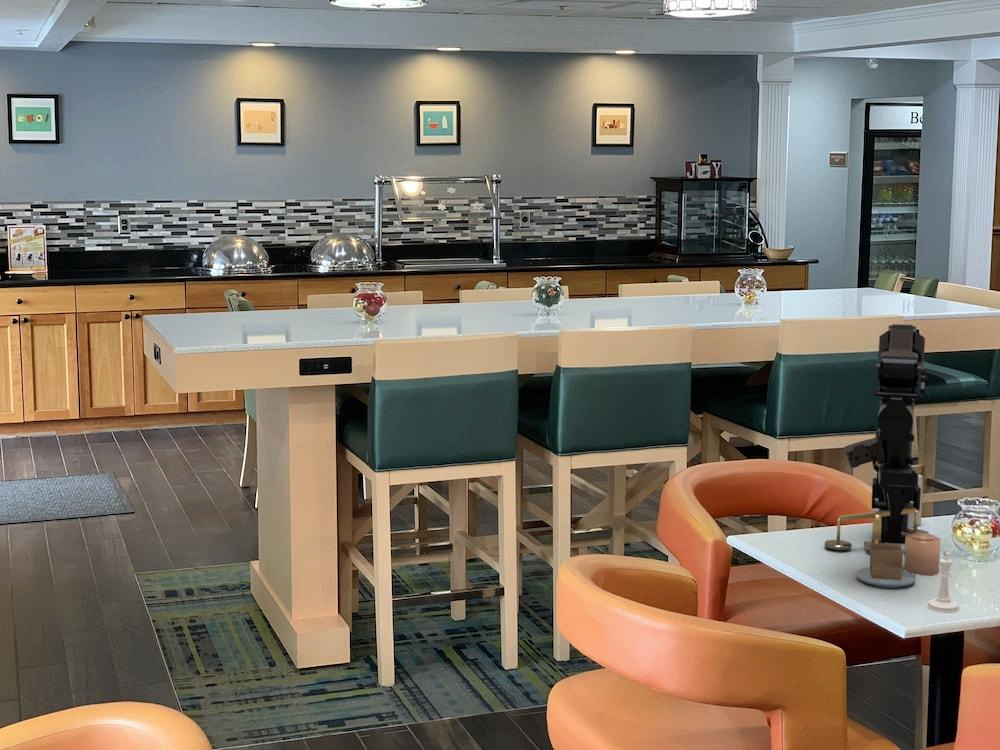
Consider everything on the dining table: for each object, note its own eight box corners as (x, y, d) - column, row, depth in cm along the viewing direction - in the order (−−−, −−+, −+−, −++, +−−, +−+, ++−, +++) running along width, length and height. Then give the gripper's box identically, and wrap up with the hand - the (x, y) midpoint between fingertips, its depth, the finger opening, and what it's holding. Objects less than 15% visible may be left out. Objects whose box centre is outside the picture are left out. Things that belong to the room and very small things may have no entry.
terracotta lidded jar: (902, 564, 238) (903, 530, 237) (936, 566, 237) (938, 532, 236) (905, 574, 232) (907, 539, 231) (940, 576, 231) (942, 541, 230)
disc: (853, 570, 234) (854, 565, 234) (911, 574, 232) (911, 568, 232) (858, 587, 224) (858, 581, 224) (918, 591, 222) (918, 585, 222)
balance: (823, 544, 251) (825, 499, 250) (925, 549, 248) (928, 504, 246) (825, 552, 246) (827, 507, 244) (929, 558, 242) (932, 512, 241)
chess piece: (938, 613, 211) (942, 554, 210) (921, 604, 216) (924, 546, 214) (965, 611, 212) (968, 552, 211) (947, 601, 217) (950, 543, 216)
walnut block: (869, 569, 231) (870, 542, 230) (898, 571, 230) (900, 544, 229) (871, 578, 226) (873, 550, 225) (901, 579, 225) (903, 552, 224)
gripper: (844, 414, 237) (841, 497, 239) (851, 435, 219) (847, 525, 221) (908, 417, 235) (904, 500, 237) (920, 438, 217) (915, 528, 219)
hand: (891, 513), depth 229 cm, fingers open, 9 cm apart
